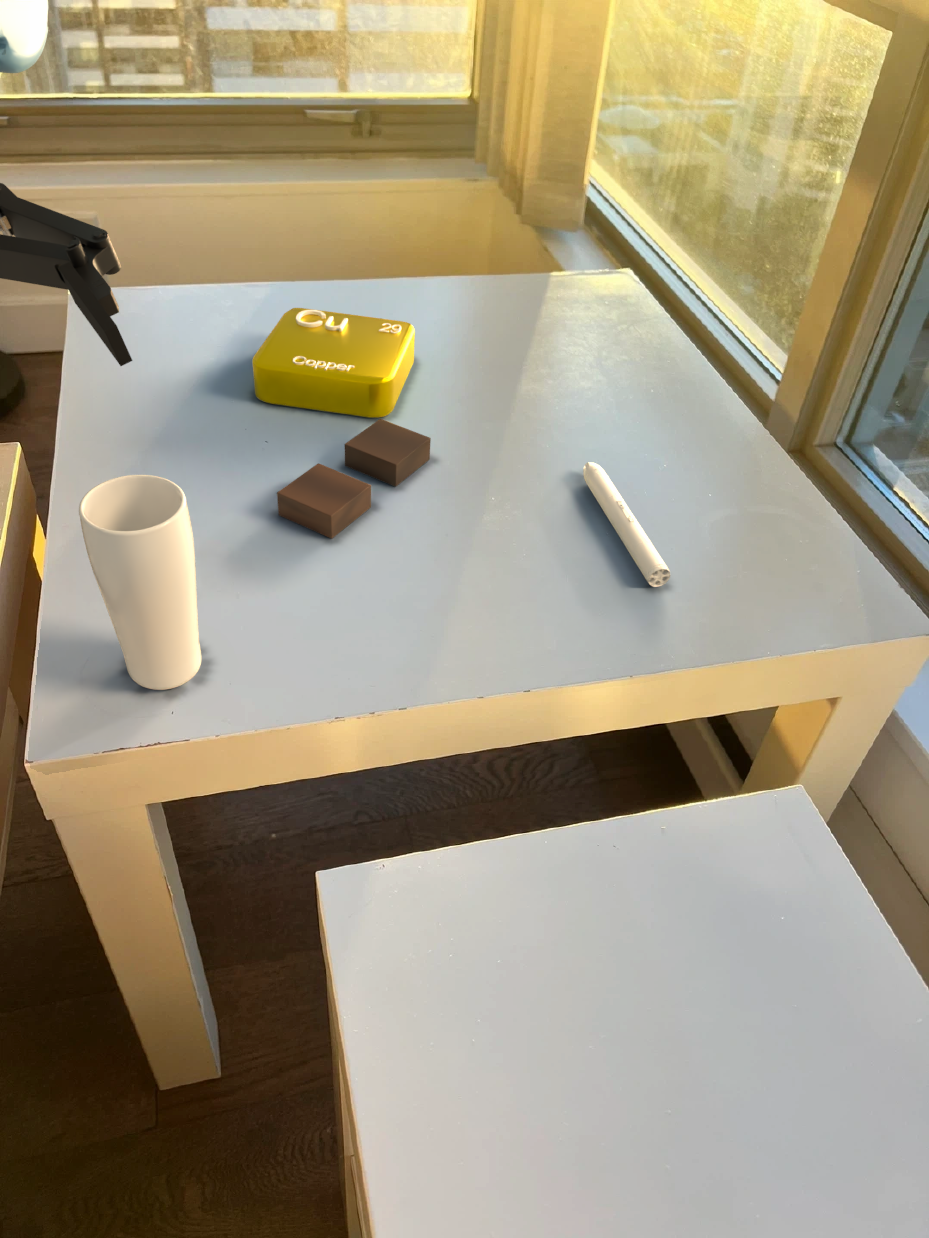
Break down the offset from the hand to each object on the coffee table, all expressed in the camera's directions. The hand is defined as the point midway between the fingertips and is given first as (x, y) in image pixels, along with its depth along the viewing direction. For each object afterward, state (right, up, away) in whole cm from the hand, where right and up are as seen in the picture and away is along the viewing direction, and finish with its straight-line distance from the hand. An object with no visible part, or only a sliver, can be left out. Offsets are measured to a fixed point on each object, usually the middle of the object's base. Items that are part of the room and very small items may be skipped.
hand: (6, 401), depth 53 cm
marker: (+39, -3, +36) cm, 54 cm away
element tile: (+11, +14, +53) cm, 56 cm away
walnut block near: (+12, -2, +35) cm, 37 cm away
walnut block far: (+18, +3, +41) cm, 45 cm away
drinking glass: (+3, -16, +19) cm, 25 cm away
